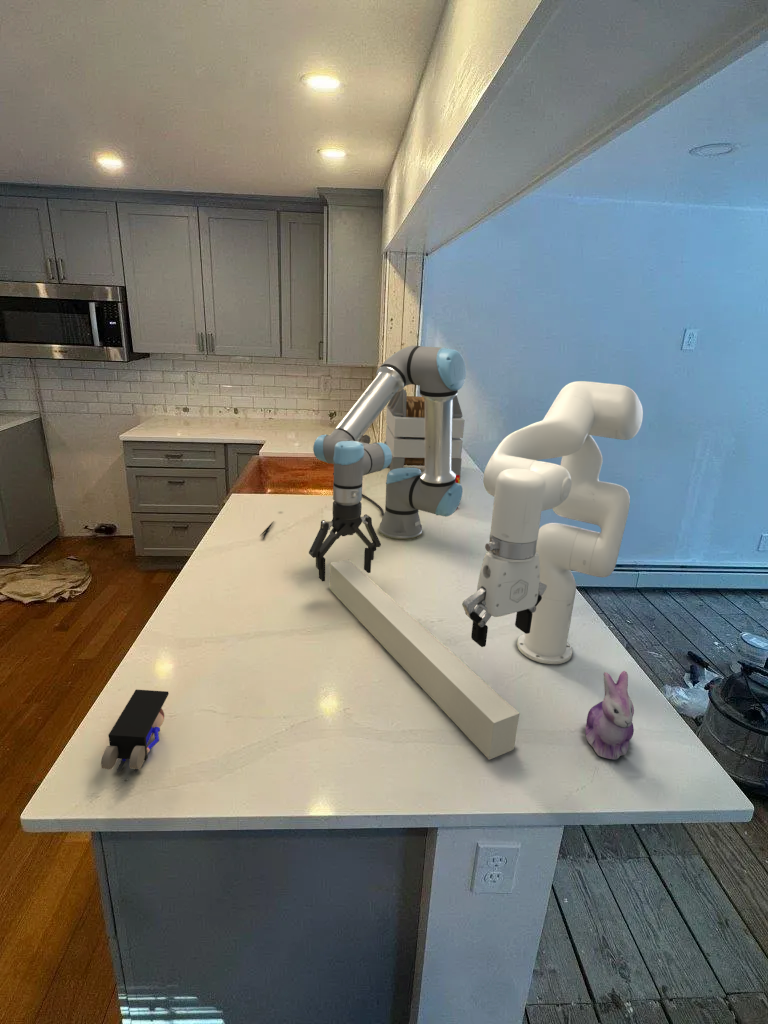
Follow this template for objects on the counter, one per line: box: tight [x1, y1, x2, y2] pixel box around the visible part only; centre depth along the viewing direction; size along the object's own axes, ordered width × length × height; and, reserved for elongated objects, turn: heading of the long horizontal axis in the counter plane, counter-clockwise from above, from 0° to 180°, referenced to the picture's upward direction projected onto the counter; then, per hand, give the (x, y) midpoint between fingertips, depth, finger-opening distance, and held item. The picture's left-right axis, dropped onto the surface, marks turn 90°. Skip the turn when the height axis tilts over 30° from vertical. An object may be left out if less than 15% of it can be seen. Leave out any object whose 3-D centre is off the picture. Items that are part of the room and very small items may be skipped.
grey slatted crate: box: [383, 388, 465, 476], centre depth 268 cm, size 34×33×41 cm
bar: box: [329, 559, 520, 761], centre depth 130 cm, size 71×6×8 cm, turn 29°
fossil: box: [358, 434, 371, 444], centre depth 304 cm, size 22×10×15 cm
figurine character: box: [100, 689, 169, 774], centre depth 98 cm, size 7×8×15 cm
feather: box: [260, 520, 275, 540], centre depth 202 cm, size 2×28×2 cm
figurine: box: [584, 670, 635, 760], centre depth 103 cm, size 9×10×15 cm
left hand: (344, 575), depth 155 cm, fingers open, 13 cm apart
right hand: (500, 636), depth 98 cm, fingers open, 9 cm apart
